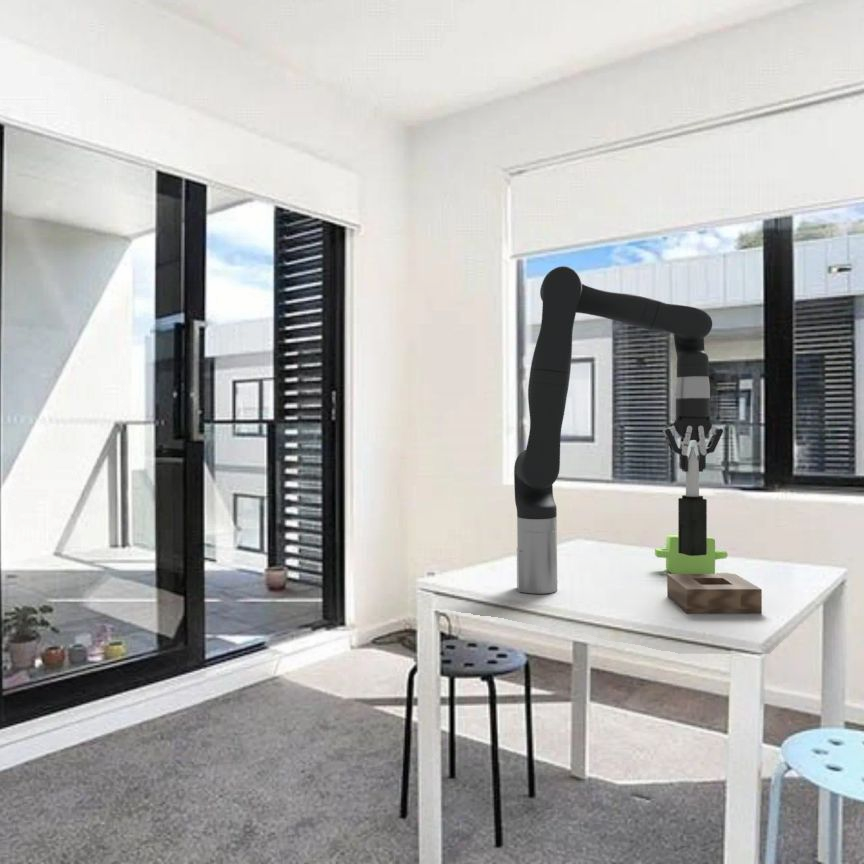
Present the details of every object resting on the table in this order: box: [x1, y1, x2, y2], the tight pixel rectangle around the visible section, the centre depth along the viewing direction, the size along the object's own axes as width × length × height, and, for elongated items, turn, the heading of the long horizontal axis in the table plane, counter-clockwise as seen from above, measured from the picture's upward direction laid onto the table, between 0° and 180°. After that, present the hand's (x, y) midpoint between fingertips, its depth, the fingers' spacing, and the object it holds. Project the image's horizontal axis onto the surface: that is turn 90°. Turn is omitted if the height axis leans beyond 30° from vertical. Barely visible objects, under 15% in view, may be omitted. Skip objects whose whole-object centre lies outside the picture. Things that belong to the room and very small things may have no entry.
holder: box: [666, 573, 763, 615], centre depth 159 cm, size 15×15×5 cm
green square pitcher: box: [654, 534, 729, 574], centre depth 193 cm, size 18×10×10 cm, turn 83°
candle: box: [677, 445, 708, 556], centre depth 172 cm, size 5×5×25 cm
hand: (692, 471), depth 172 cm, fingers closed on candle, 3 cm apart
